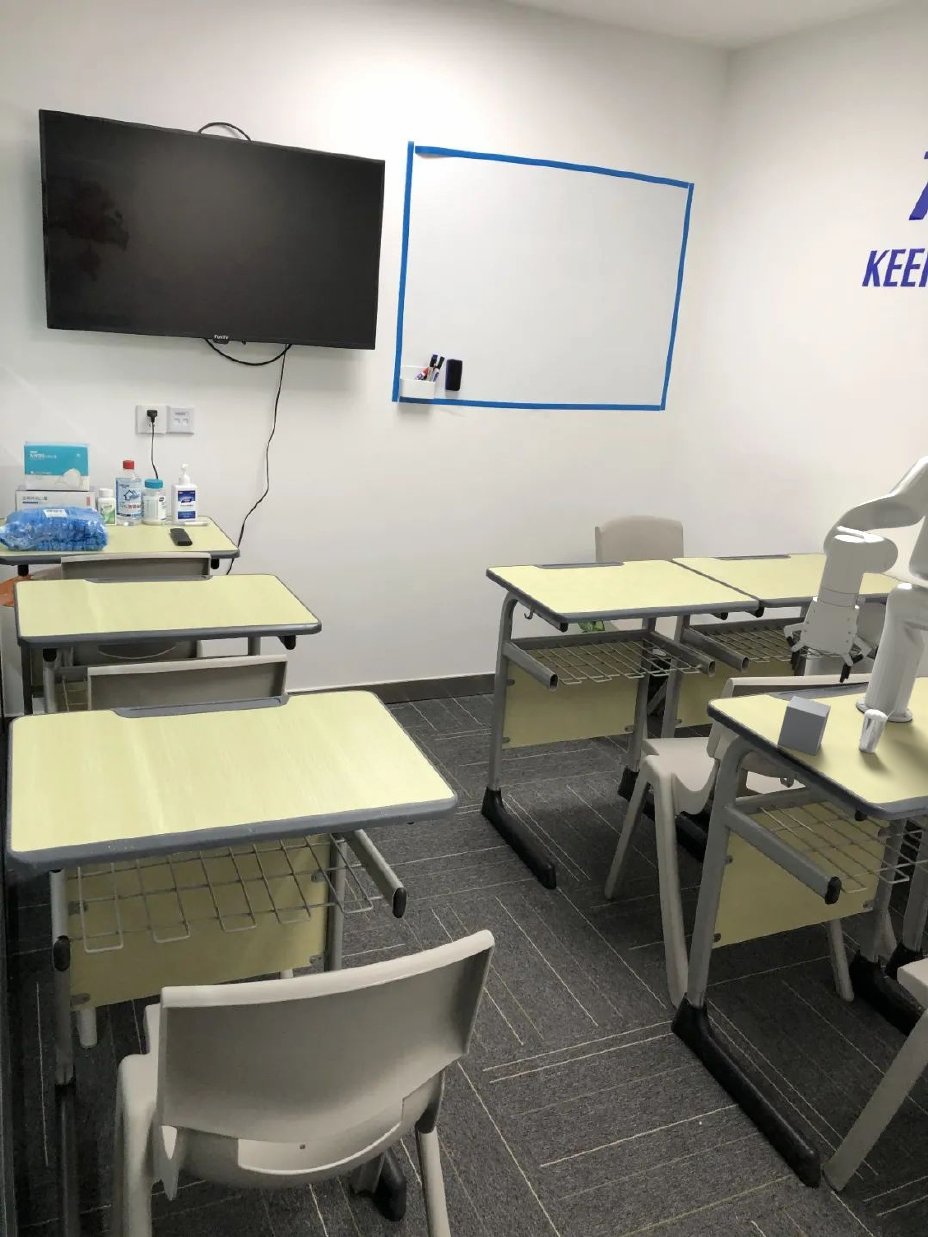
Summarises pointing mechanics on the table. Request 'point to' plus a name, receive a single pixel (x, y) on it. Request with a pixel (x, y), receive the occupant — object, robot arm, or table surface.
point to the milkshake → (872, 730)
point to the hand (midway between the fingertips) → (817, 674)
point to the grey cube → (804, 725)
